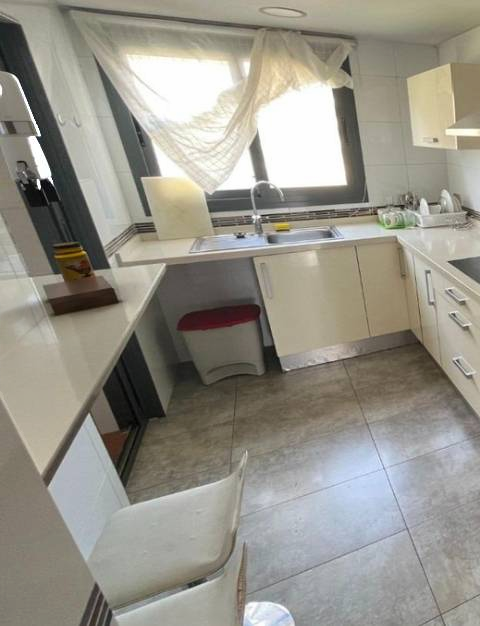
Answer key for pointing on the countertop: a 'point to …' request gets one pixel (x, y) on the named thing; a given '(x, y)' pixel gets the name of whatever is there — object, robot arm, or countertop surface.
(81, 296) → the brown wooden base
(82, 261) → the condiment
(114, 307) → the countertop surface
